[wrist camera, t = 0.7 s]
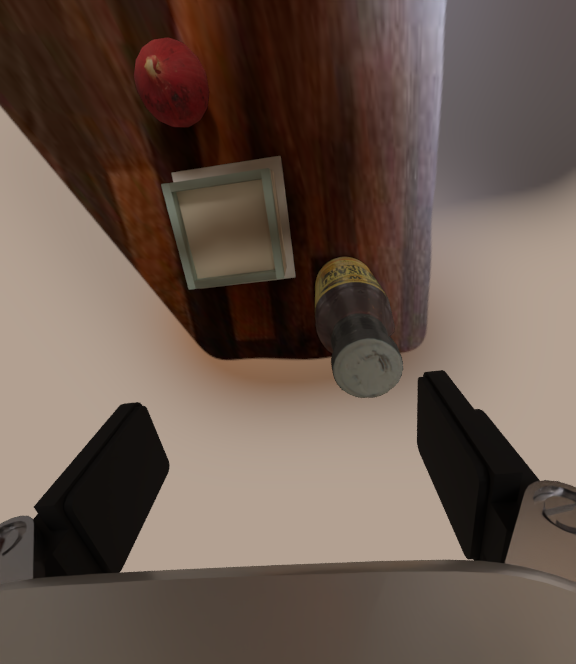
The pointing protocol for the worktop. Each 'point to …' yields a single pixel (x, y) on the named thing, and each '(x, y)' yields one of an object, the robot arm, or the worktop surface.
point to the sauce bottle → (356, 328)
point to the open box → (231, 223)
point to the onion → (171, 82)
